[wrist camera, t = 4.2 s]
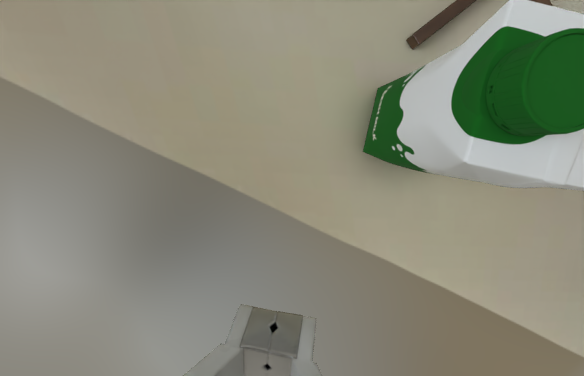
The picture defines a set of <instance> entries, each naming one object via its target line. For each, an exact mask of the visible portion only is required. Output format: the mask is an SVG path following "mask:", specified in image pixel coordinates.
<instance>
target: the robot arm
mask: <svg viewBox="0 0 584 376" xmlns="http://www.w3.org/2000/svg"><path fill="white" fill-rule="evenodd" d="M315 328H316V318H312V317H306V316H302V315H297V314H291V313H285V312H280V311H278V312H277V311H272V310H267V309H262V308H258V307H253V306H248V305H242V304H241V305H240V307H239V308H238V311H237V314H236V316H235V319H234V321H233V324H232V326H231V329H230V332H229V334H228V337H227V339H226V342H225V344H220V345H219V346H217V347H216V348H215V349H214V350H213V351H212V352H211V353H209V354H208V355H207V356H206V357H204V358H203V359H202V360H201V361H200V362H199V363H197V364H196V365H195V366H194V367H193V368H192V369H191V370H189V371H188V372H187V373H186V374H184V375H183V376H322V374H321V372H320V370H319V368H318V366H317V363H314V362H312V361H313V350H314V340H315Z"/></svg>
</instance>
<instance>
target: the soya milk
mask: <svg viewBox="0 0 584 376" xmlns="http://www.w3.org/2000/svg"><path fill="white" fill-rule="evenodd" d="M363 152H365V153H367V154H370V155H372V156H374V157H377V158H379V159H381V160H384V161H386V162H389V163H392V164H395V165H398V166H402V167H406V168H409V169H413V170H417V171H421V172H426V173H432V174H437V175H443V176H449V177H454V178H460V179H466V180H471V181H477V182H485V183H488V184H492V185H497V186H502V187H510V188H539V187H550V188H561V189H571V190H581V191H584V14H582V13H578V12H574V11H570V10H566V9H562V8H558V7H554V6H549V5H545V4H541V3H537V2H533V1H529V0H509V1H508V2H507V3H506V4H505V5H504V6H502V7H501V8H500V9H499V10H498V11H497V12H496V13H495V14H494V15H493V16H492V17H491V18H490V19H489V20H488V21H487V22H485V23H484V24H483V25H482V26H481V27H480V28H479V29H478V30H477V31H476V32H475V33H474V34H473V35H472V36H471V37H470V38H468V39H467V40H466V41H465V42H464V43H463V44H462V45H460V46H458V47H456V48H455V49H453V50H451V51H449V52H448V53H446V54H444V55H442V56H440V57H439V58H437V59H435V60H433V61H431V62H430V63H428V64H426V65H424V66H422V67H421V68H419V69H417V70H415V71H413V72H412V73H410V74H408V75H406V76H403V77H401V78H399V79H397V80H395V81H393V82H391V83H388V84H386V85H384V86H382V87H380V88H378V90H377V94H376V98H375V103H374V107H373V111H372V115H371V119H370V124H369V128H368V132H367V136H366V141H365V145H364V149H363Z"/></svg>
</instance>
